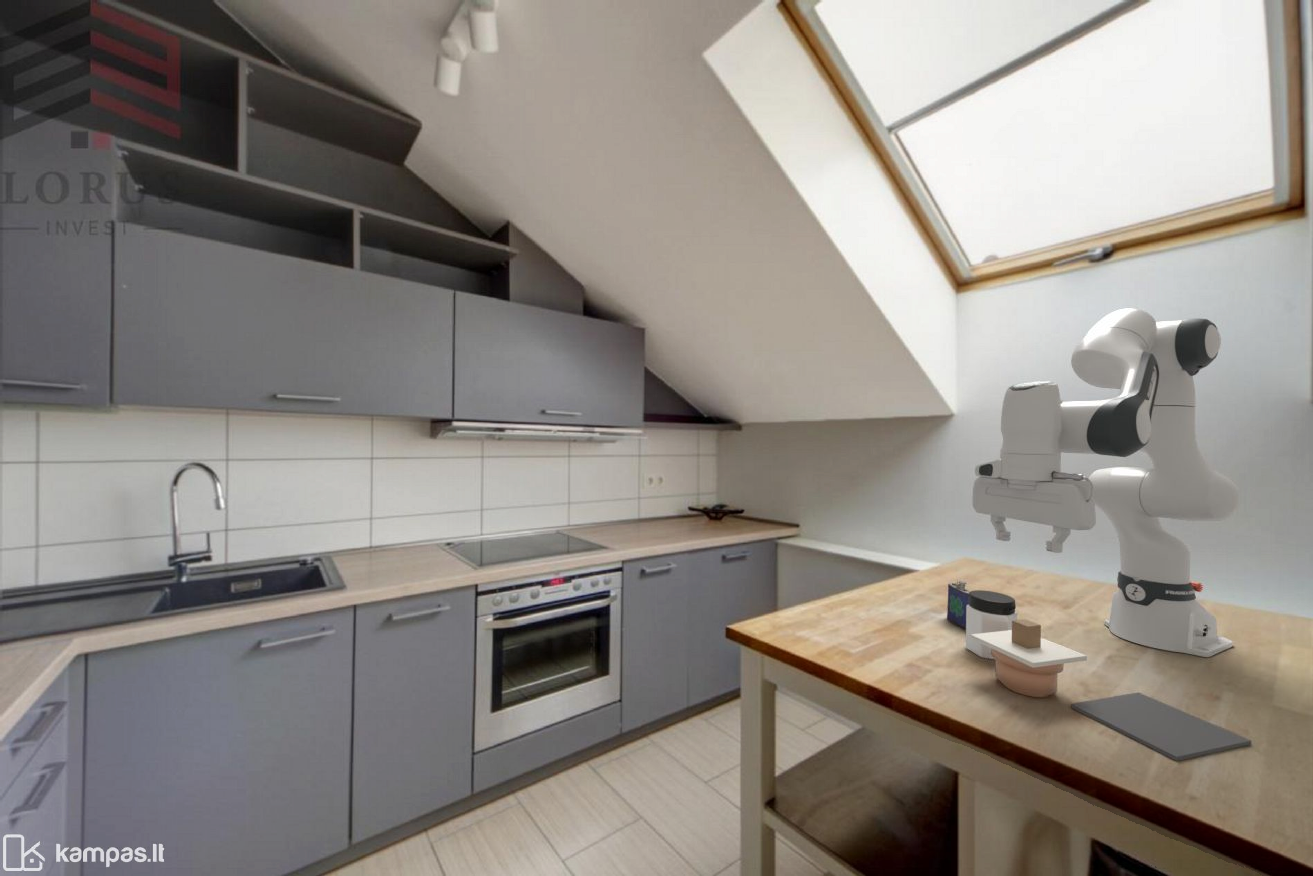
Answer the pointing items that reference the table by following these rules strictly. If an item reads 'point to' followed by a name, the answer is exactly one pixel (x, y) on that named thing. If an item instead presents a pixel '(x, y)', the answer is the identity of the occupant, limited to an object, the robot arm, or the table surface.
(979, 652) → the jar
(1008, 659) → the pink lidded container
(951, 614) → the flask
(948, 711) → the table surface
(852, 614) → the table surface
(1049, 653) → the lid
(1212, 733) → the mat
